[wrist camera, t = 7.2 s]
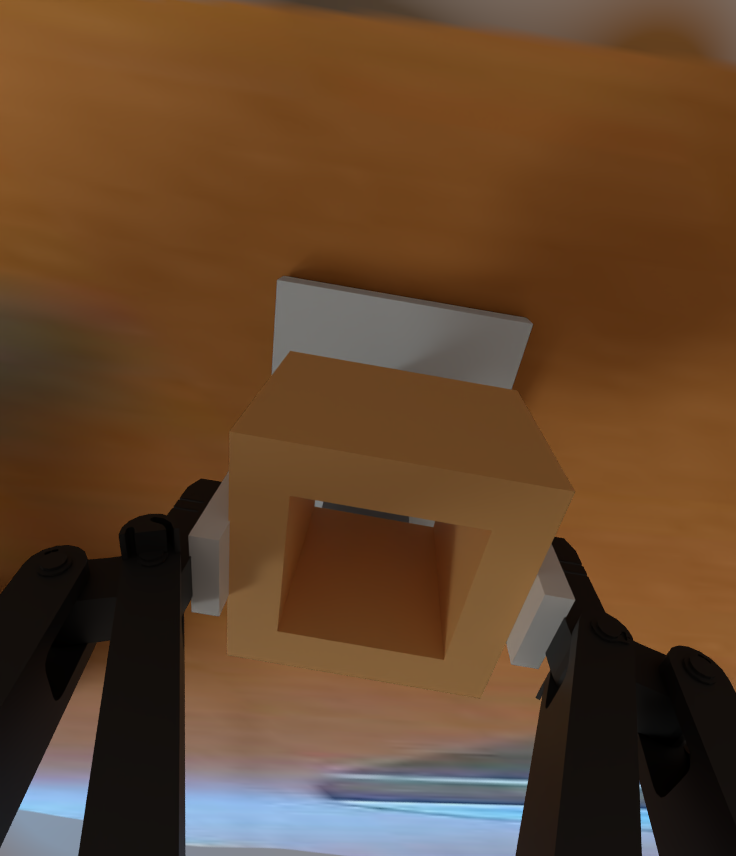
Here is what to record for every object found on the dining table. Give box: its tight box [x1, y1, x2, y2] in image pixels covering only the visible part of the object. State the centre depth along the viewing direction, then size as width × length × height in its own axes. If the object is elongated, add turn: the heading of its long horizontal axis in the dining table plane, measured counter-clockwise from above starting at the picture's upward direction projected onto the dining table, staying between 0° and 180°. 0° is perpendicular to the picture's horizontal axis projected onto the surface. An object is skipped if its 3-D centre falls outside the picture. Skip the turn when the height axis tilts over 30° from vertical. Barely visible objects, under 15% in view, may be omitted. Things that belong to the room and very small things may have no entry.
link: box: [227, 351, 575, 699], centre depth 15 cm, size 8×8×6 cm
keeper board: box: [272, 276, 533, 527], centre depth 22 cm, size 12×16×8 cm
